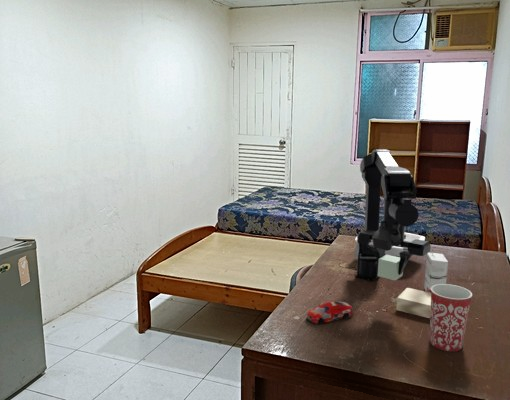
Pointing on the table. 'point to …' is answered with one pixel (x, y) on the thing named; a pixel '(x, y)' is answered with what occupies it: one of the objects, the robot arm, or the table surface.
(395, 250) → the bowl
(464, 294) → the mug
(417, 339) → the table surface
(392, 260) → the cube
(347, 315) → the race car
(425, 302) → the slab
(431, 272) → the ink box
